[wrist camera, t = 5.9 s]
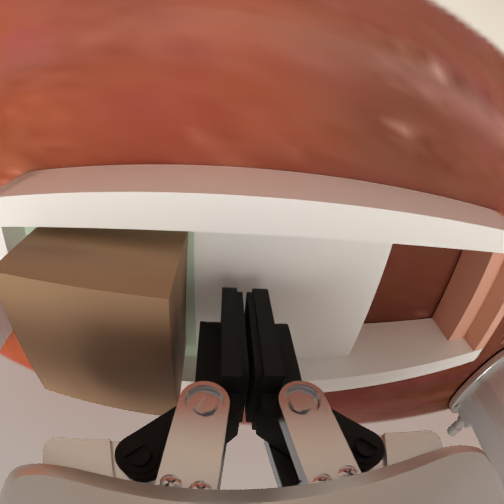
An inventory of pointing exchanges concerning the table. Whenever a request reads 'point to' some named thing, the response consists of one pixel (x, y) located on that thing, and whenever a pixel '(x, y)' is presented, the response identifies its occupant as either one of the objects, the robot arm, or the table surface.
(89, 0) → the table surface
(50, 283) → the block
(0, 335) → the milk carton
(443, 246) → the box
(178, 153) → the table surface
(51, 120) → the table surface
